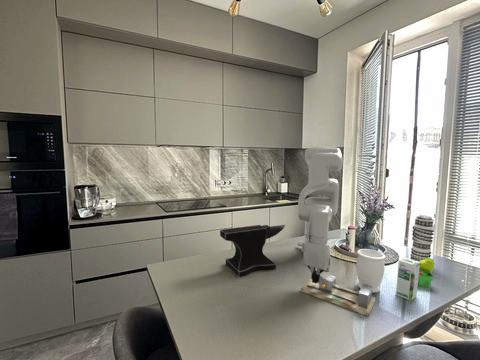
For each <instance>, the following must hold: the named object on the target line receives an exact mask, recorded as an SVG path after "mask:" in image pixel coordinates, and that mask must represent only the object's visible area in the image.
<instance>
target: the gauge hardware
mask: <svg viewBox="0 0 480 360" xmlns="http://www.w3.org/2000/svg"><path fill="white" fill-rule="evenodd" d="M318 283H319V281H318ZM307 287H309V288H312V289H313V288H314V289H317V290H319V291H322V292H325V293H328V294H331V295H334V296H336V297H339V298H342V299H345V300H348V301H350V302H353V303H354V304H356V301H353V300H350V299H347V298H344V297H342V296H339V295H336V294H333V293H330V292H327V291H324V290H322V289H319V288H316V287H313V286H310V285H307ZM372 287H373V286H369V285H366V284H364V285H363V286H362V288H360V290H359V291H358V292H359V294H358V293H355V292H352V291H349V290H346V289H343V288H340V287H337V286H336V289H339V290H342V291H345V292H348V293H351V294H354V295H357V296H359V299H358V306H360V307H363V308H365V309H367V308H368V306H369V304H370V301H371V299H372V297H373V293H372Z"/></svg>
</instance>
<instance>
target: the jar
mask: <svg viewBox="0 0 480 360" xmlns="http://www.w3.org/2000/svg"><path fill="white" fill-rule="evenodd" d="M357 255H358V256H357V258H356V276H357V279H358V282H357V286H358V288H360V289H361V288H362V286H363V285H364V284H366V285H369V286H373V287H372V294H373V293H378V292H380V290H381V288H380V286H381V284H382V282H383V278H384V274H385V270H386V267H385V260H386V254H384V253H383V252H381V251H378V250H375V249H371V248H359V249H358V250H357Z"/></svg>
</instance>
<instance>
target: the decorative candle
mask: <svg viewBox="0 0 480 360" xmlns="http://www.w3.org/2000/svg"><path fill="white" fill-rule="evenodd" d="M434 221H435V220H434V219H433V218H432V217H431V216H429V215H425V214H424V215H422V214H418V215H417V216H415V217H414V225H412V227H411V228H412V230H411V232H412V234H411V235H412V238H411V239H412V244H411V245H412V246H411V248H410V249H411V251H410V253H411V254H409V255H410V258H409V259H411V260H414V261H417V262H419V261H421V260H425V259H426V258H431V256H432V252H431V250H432V249H431V245H432V244H433V241H434V240H433V239H434V235H435V233H434V232H435V230H434Z"/></svg>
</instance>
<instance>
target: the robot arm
mask: <svg viewBox="0 0 480 360" xmlns="http://www.w3.org/2000/svg"><path fill="white" fill-rule="evenodd" d="M304 157H305V161H306V164H307V167H308V181H307V185H305V186H304V188H302V190H301V191H300V193H299V196H298V203H297V217H298V219H299V220H300V221H302V222H303V221H304V222H305V223H304V224H305V225H304V241H297V246H298V247H299V246H300V247H301V249H300V251H301V253H302V254H303V255H302V263H303V266H305V267H307V268H308V269H309V270H310V273H311V278H310V279H312V283H315V284H316V283H317V282H318V281H319V279H320V277H321V273H329V272H331V269H330V265H331V248H330V243H329V241H328V240H329V223H330V221H331V220H332V218H333V216H335V215H336V214H337V213H338V209H339V194H340V184H339V181H338V180H337V179H335V178H331V177H330V175H329V174H330V171H331V172H339V171H341V170H342V168H343V167H344V166H343V164H344V161H343V159H344V157H343V155H342V151H341V149H340V148H338V147H335V146H334V147H332V146H330V147H329V146H312V147H311V146H310V147H307V148H306V149H305V151H304ZM329 177H330V178H329ZM308 195H313V196H310V197H308V198H306V197H307V196H308ZM321 196H322V197H321ZM323 196H325V197H323ZM326 196H327V197H326Z"/></svg>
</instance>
